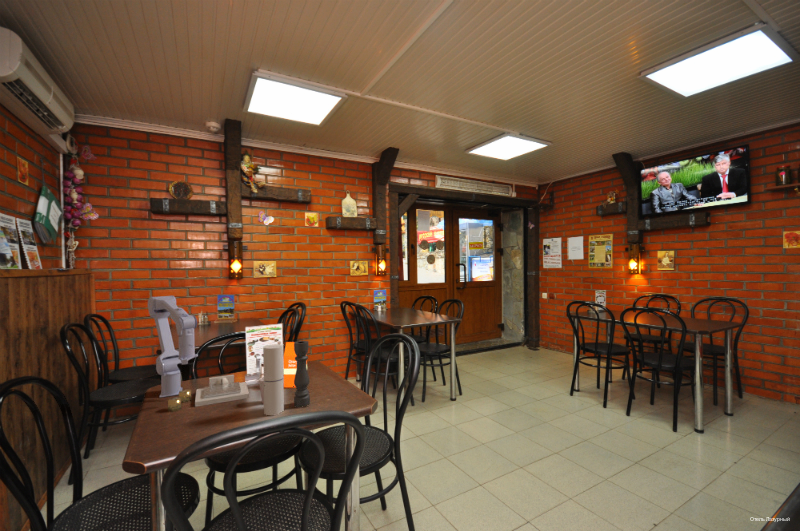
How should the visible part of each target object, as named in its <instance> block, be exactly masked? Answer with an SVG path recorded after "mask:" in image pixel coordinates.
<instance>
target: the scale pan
mask: <svg viewBox="0 0 800 531" xmlns="http://www.w3.org/2000/svg"><path fill="white" fill-rule="evenodd" d="M239 383H240V382H239V381H237V382H235V381H234V383H229V384H222V385H215V386H209V385H208V386H204V387H203V388H204V398H206V397H213V396H219V395H225V394H232V393H238V392H241V388H240V384H239Z"/></svg>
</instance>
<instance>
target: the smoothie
mask: <svg viewBox="0 0 800 531" xmlns="http://www.w3.org/2000/svg"><path fill="white" fill-rule="evenodd" d="M258 383H259V389H260V396H261V403H262V404H263V405H264V376H262V377H260V378H259V379H258Z"/></svg>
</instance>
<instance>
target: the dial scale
mask: <svg viewBox="0 0 800 531" xmlns="http://www.w3.org/2000/svg"><path fill="white" fill-rule="evenodd" d="M208 379H209V382H208V383H209V384H208V386H215V385H222V384H229V383H235V374H228V375H227V374H226V375H221V376H213V377H209V378H208ZM239 384H240V388H241V392H238V393H232V394H225V395H219V396H213V397H206V398H204V387H203V388H202V387H201V388H197V389H196V392H195V400H194V407H196V408H197V407H202V406H208V405H209V406H210V405H216V404H219V403H220V404H221V403H226V402H233V401H237V400H238V401H239V400H243V399H245V400H246V399H249V398H250V392H249V388H248V384H247V381H242V382H239Z"/></svg>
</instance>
